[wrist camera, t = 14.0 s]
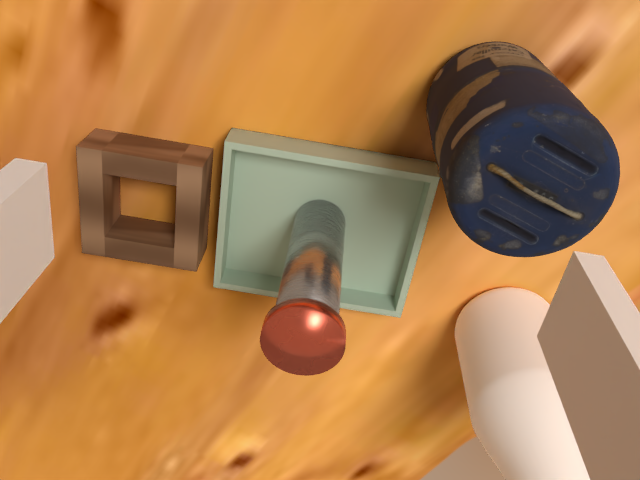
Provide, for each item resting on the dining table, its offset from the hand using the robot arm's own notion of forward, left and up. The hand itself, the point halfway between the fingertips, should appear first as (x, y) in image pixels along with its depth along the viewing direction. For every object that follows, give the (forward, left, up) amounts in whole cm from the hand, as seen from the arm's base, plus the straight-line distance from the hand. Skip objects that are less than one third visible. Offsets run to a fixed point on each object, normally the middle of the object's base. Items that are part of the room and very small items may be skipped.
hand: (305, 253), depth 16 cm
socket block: (+18, -14, -35) cm, 42 cm away
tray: (+18, +1, -35) cm, 39 cm away
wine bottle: (+26, +20, -35) cm, 48 cm away
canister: (+5, +12, -35) cm, 37 cm away
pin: (+18, +1, -34) cm, 39 cm away
